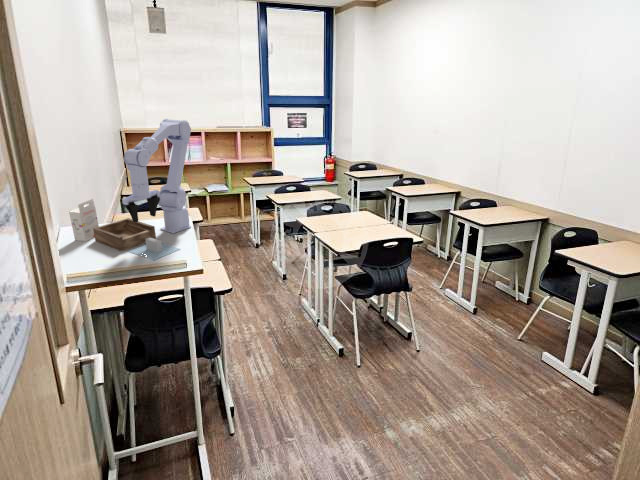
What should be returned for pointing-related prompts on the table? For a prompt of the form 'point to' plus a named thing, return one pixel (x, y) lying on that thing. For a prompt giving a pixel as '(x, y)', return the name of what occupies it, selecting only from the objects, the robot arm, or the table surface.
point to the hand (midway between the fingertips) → (144, 218)
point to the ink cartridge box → (84, 221)
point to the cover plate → (153, 254)
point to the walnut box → (124, 234)
